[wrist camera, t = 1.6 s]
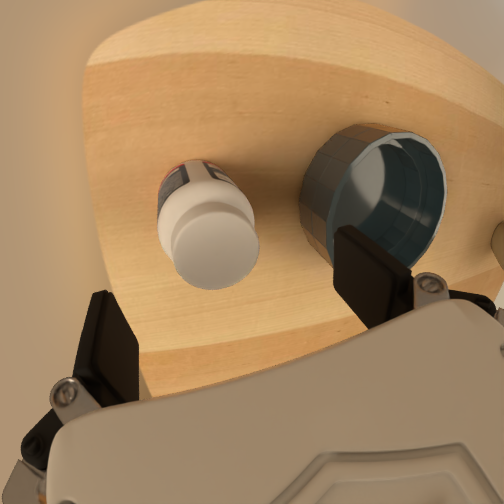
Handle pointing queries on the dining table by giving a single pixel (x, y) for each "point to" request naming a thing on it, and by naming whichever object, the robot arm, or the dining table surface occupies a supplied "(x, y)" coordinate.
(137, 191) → the dining table surface
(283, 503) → the robot arm
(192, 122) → the dining table surface
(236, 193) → the pill bottle
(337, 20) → the dining table surface
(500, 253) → the flower pot
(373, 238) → the bowl
